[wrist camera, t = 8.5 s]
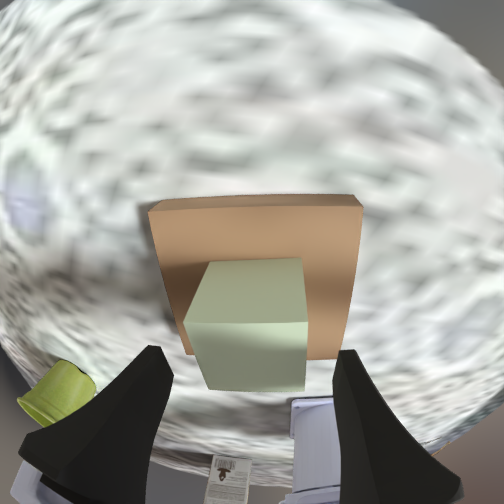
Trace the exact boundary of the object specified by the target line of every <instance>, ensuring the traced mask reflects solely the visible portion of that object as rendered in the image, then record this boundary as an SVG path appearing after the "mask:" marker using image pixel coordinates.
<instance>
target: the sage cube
mask: <svg viewBox="0 0 504 504" xmlns="http://www.w3.org/2000/svg"><path fill="white" fill-rule="evenodd" d="M183 324H184V327H185V330H186V332H187V335H188V338H189V341H190V343H191V346H192V349H193V352H194V354H195V357H196V359H197V362H198V365H199V367H200V370H201V372H202V375H203V377H204V380H205V382H206V384H207V387H208V389H209V390H222V391H240V392H302V391H304V390H305V376H306V359H307V339H308V315H307V304H306V294H305V285H304V276H303V267H302V258H283V259H260V260H237V261H212V262H210V263H209V265H208V267H207V269H206V272H205V274H204V276H203V278H202V280H201V283H200V285H199V287H198V289H197V292H196V294H195V296H194V298H193V301H192V303H191V305H190V307H189V310H188V312H187V314H186V317H185V319H184V321H183Z"/></svg>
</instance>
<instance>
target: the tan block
mask: <svg viewBox="0 0 504 504" xmlns="http://www.w3.org/2000/svg"><path fill="white" fill-rule="evenodd" d="M148 217H149V221H150V226H151V231H152V235H153V240H154V244H155V248H156V253H157V257H158V261H159V265H160V269H161V273H162V276H163V280H164V284H165V288H166V291H167V295H168V298H169V302H170V305H171V309H172V312H173V315H174V318H175V322H176V325H177V328H178V331H179V334H180V337H181V340H182V343H183V346H184V349H185V352H186V355H195V354H194V352H193V349H192V346H191V343H190V341H189V338H188V335H187V332H186V330H185V327H184V324H183V321H184V319H185V317H186V314H187V312H188V310H189V307H190V305H191V303H192V301H193V298H194V296H195V294H196V292H197V289H198V287H199V285H200V283H201V280H202V278H203V276H204V274H205V272H206V269H207V267H208V265H209V263H210V262H212V261H237V260H260V259H283V258H302V267H303V276H304V285H305V294H306V304H307V315H308V339H307V359H306V360H328V359H337V357H338V352H339V350H340V349H341V345H342V341H343V336H344V332H345V327H346V323H347V318H348V313H349V308H350V302H351V297H352V291H353V285H354V279H355V273H356V267H357V260H358V252H359V245H360V236H361V227H362V217H363V206H362V204H361V203H360V202H359V201H358V200H357V198H356V197H355V196H354V195H341V194H270V195H237V196H215V197H197V198H182V199H169V200H162V201H161V202H159V203H158V204H157V205H155V206H154V207H153V208H152V209H150V210H149V211H148Z"/></svg>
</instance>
